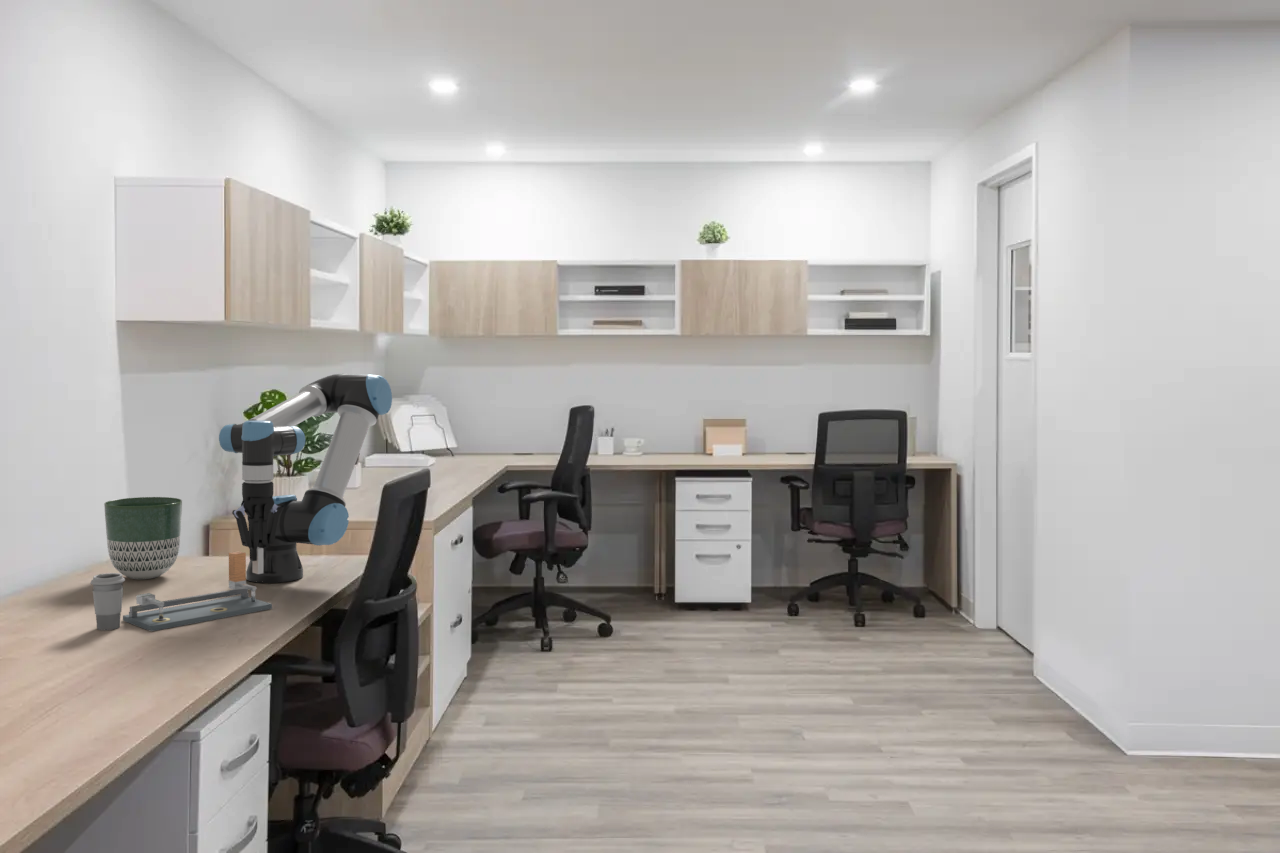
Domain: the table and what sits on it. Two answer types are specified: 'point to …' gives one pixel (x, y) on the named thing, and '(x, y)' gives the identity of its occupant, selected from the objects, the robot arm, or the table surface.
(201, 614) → the gauge board
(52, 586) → the table surface
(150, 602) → the rail
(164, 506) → the planter
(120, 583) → the cup
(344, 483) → the robot arm
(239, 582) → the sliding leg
